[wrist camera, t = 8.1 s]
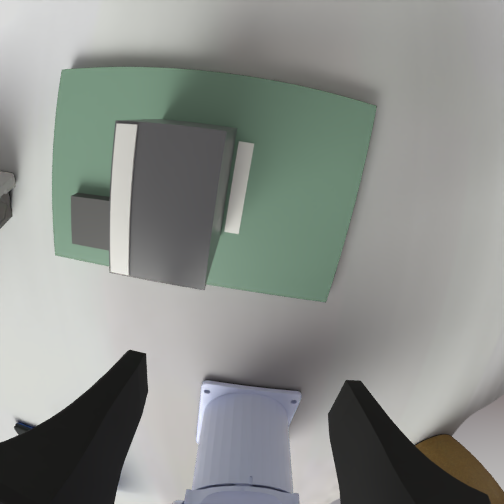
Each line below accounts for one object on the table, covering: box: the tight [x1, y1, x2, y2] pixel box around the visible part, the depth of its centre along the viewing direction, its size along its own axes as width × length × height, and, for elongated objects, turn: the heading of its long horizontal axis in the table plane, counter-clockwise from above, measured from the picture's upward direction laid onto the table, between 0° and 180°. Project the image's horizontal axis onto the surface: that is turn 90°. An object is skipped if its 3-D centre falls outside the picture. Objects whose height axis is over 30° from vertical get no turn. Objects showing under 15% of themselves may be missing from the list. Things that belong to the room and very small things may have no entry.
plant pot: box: [415, 434, 504, 504], centre depth 22 cm, size 15×15×16 cm
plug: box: [109, 119, 237, 290], centre depth 14 cm, size 6×4×6 cm, turn 170°
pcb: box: [52, 67, 377, 302], centre depth 16 cm, size 12×18×4 cm, turn 80°
